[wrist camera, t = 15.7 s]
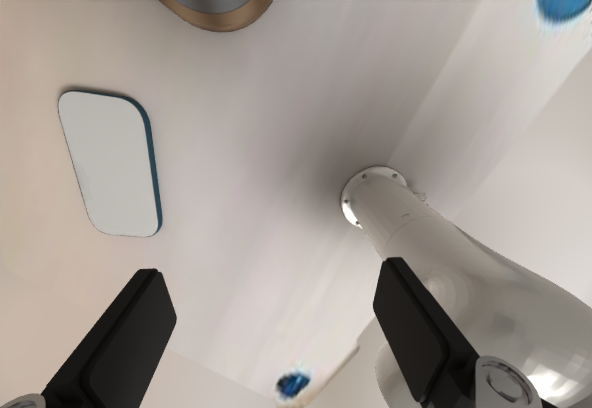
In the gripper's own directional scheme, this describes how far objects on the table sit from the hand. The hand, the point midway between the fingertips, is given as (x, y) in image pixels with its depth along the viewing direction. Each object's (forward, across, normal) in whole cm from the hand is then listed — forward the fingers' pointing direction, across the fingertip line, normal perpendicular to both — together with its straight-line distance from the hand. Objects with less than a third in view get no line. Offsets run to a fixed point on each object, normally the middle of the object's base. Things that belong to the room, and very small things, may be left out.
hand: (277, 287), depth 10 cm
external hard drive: (+31, +26, +4) cm, 41 cm away
